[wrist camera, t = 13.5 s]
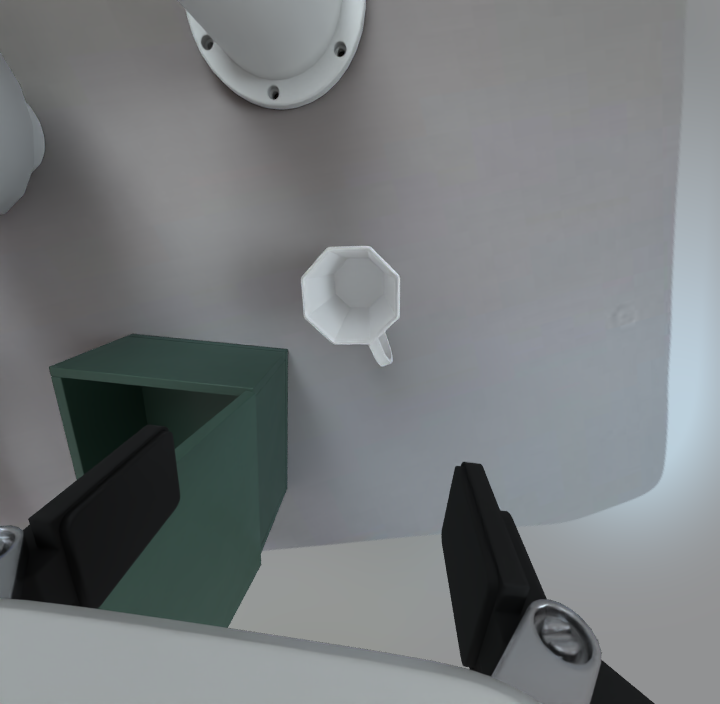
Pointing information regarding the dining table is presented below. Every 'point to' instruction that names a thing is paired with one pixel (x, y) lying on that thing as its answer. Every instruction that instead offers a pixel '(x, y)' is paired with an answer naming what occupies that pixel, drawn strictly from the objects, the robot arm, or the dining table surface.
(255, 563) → the cool box lid
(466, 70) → the dining table surface
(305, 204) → the dining table surface
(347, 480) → the dining table surface
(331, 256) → the cup
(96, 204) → the dining table surface
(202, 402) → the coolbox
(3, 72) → the vase
